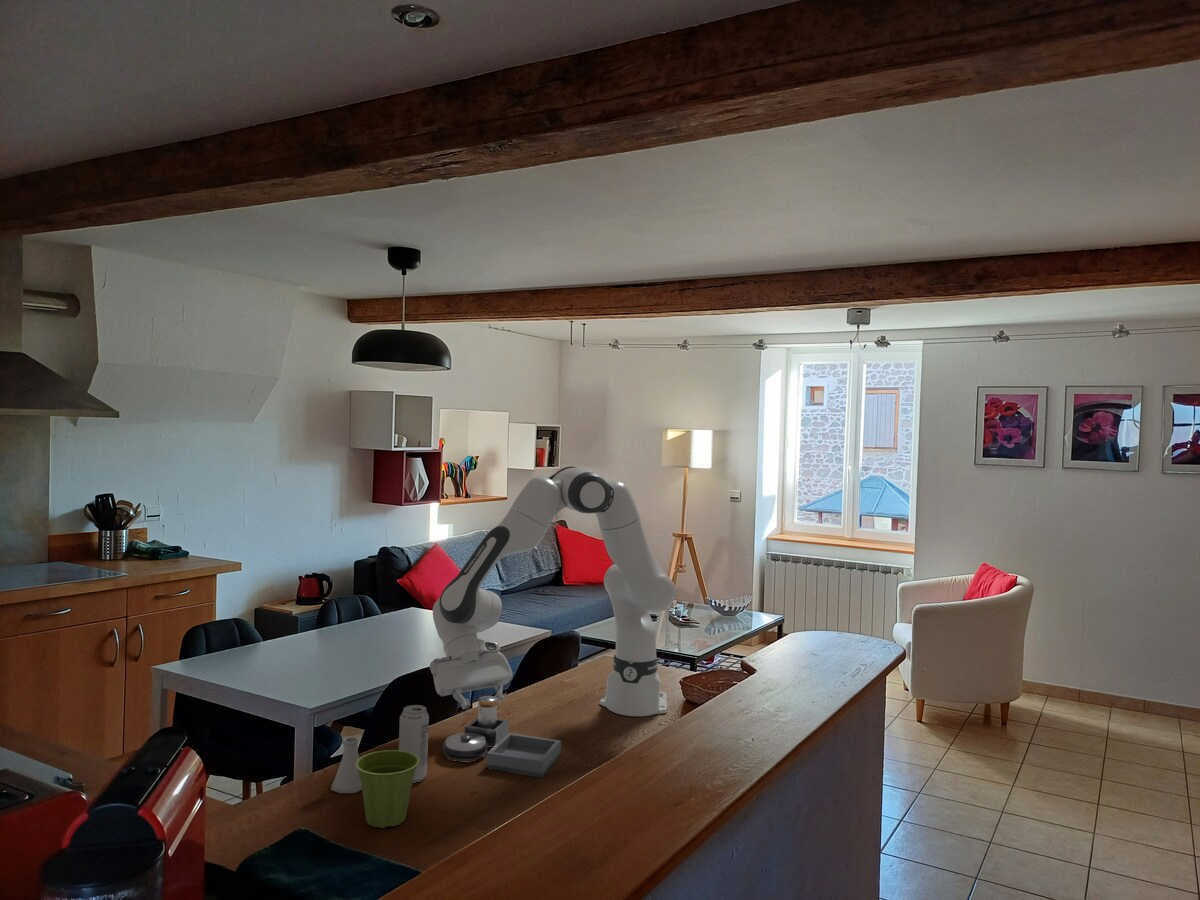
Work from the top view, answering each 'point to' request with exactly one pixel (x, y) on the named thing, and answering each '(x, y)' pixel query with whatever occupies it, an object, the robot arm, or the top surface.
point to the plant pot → (386, 785)
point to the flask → (348, 769)
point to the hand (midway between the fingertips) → (483, 704)
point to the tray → (524, 755)
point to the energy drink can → (415, 736)
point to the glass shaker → (487, 712)
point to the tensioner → (474, 741)
